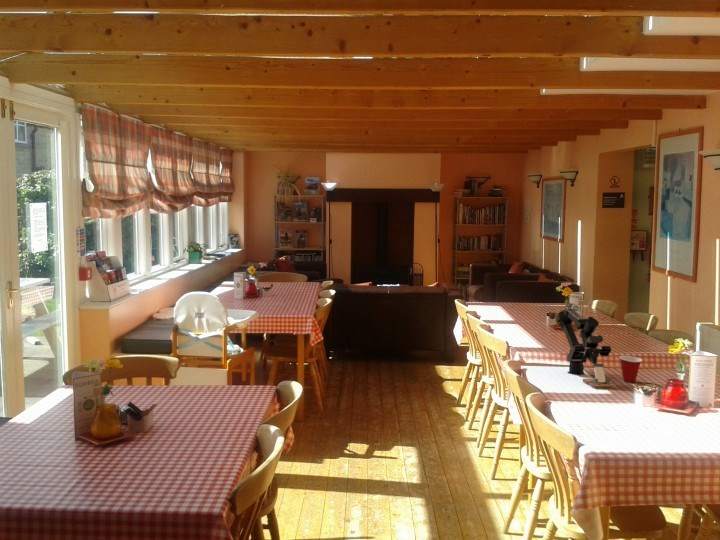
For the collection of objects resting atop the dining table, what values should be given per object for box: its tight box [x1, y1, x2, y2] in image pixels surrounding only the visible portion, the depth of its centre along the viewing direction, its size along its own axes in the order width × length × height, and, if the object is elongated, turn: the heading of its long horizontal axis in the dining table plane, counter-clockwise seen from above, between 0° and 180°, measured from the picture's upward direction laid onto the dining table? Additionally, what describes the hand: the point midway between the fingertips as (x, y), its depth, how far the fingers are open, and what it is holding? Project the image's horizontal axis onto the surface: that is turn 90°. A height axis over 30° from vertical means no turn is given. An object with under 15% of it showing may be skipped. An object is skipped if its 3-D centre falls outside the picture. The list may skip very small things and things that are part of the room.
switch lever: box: [592, 363, 606, 383], centre depth 348 cm, size 2×5×10 cm
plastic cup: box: [618, 355, 643, 383], centre depth 361 cm, size 11×11×12 cm
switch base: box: [582, 377, 614, 390], centre depth 350 cm, size 16×9×4 cm, turn 4°
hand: (595, 364), depth 353 cm, fingers closed
